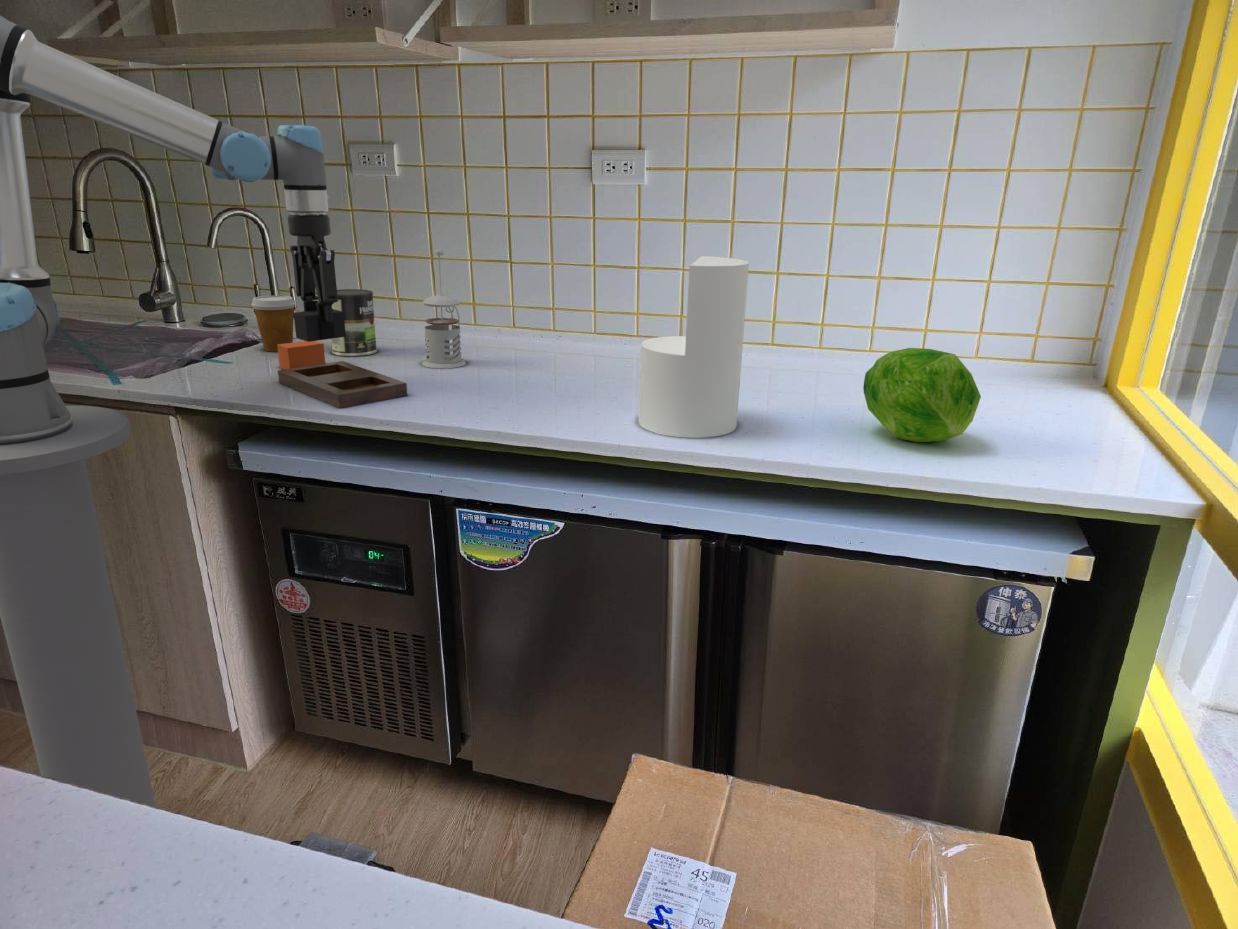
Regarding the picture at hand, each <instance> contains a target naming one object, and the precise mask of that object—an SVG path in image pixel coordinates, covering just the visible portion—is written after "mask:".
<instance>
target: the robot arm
mask: <svg viewBox="0 0 1238 929" xmlns="http://www.w3.org/2000/svg"><path fill="white" fill-rule="evenodd" d="M30 95H31V96H33V97H36V98H39V99H41V100H44V101H47V102H48V103H51V104H53V105H56V106H59V107H60V108H63V109H66V110H68V111H71V112H74V113H75V114H79V115H81V116H84V117H86V118H88V119H91V120H93V121H96V122H98V123H100V124H103V125H106V126H108V127H111V128H113V129H115V130H118V131H120V132H123V133H125V134H127V135H131V136H133V137H135V138H138V139H140V140H143V141H146V142H148V143H151V144H153V145H154V146H155V145H156V146H157V147H160V148H162V149H165V150H168V151H170V152H173V153H175V154H177V155H179V156H182V157H185V158H186V159H187V158H188V159H190V160H192V161H195V162H198V163H200V164H202V165H205V166H207V167H209V168H210V174H211V175H212V176H213V177H214V178H215V179H217V180H218V179H219V180H227V181H235V180H239V181H242V182H245V183H254V182H256V181H260V180H261V181H263V180H264V181H268V180H270V181H283V193H284V202H285V210H286V212H288V213H289V214H288V215H287V218H286V219H287V228H288V234H289V235H290V236H294V237H297V238H296V239H297V240H296V244H295V245H290V247H289V248H290V252H291V253H290V254H291V256H292V266H293V274H294V275H293V276H294V284H295V285H294V286H295V293H296V297H299V298H300V300H301V301H302V302H303V312H305V311H314V310H317V313H318V321H319V331H320V339H325V340H331V339H330V338H335V333H334V322H333V312H332V305H333V304H334V303H335V302H338V296H337V290H338V285H337V278H336V277H337V276H336V268H335V258H336V253H335V250H334V249H328V248H327V243H326V241H325V237H326V236H330V235H331V234H332V230H331V219H330V216H329V214H326V213H328V212H329V202H328V201H329V200H330V198H329V197H330V196H329V195H328V190H327V177H326V175H327V174H326V165H325V164H326V163H325V152H324V148H323V139H322V133H321V131H320V129H318V128H317V127H316V126H312V125H301V124H298V125H297V124H281V125H279V126H278V127H277V133H276V135H272V136H271V135H270V136H266V135H265V136H263V135H256V134H255V133H252V132H250V131H247V130H246V131H245V130H242V129H240V128H237V127H235V126H233V125H231V124H228V123H226V122H223V121H220V120H219V119H217V118H215V117H212V116H210V115H208V114H206V113H203V112H202V111H199V110H197V109H194V108H192V107H190V106H187V105H184V104H183V103H180V102H179V101H175V100H173V99H171V98H168V97H166V96H164V95H162V94H160V93H158V92H155V91H152V90H150V89H149V88H146V87H144V86H141V85H138V84H137V83H134V82H132V81H130V80H127V79H125V78H123V77H121V76H118V75H115V74H113V73H111V72H109V71H106V70H104V69H102V68H100V67H97V66H95V65H93V64H91V63H88V62H86V61H83V60H81V59H80V58H77V57H74V56H72V55H70V54H68V53H65V52H63V51H61V50H58V49H56V48H54V47H51V46H49V45H47V44H44V43H42V42H40V41H39V40H38V39H37V38H36V36H35V35H34V33H33V31H32V30H30V29H27V28H25V27H23V26H21V25H18V24H16V23H14V22H12V21H10V20H8V19H7V18H5V17H4V16H2V15H1V14H0V445H8V444H17V443H25V442H31V441H36V440H41V439H45V438H49V437H52V436H56V435H59V434H61V433H64V432H66V431H68V430H69V429H70V428H72V426H73V422H72V417H71V415H70V412H69V410H68V409H67V407H66V406H67V405H66V404H65V402H64V401H63V399H62V397H61V396H60V394H59V393H58V391H57V389H56V388H55V386H54V385H53V382H52V381H51V376H50V372H49V367H48V362H47V357H46V353H45V348H44V346H45V345H46V344H48V342H50V341H51V340H52V339H53V337H54V336H55V334H56V333H57V331H58V327H59V324H60V312H59V308H58V305H57V303H56V302H55V298H53V292H52V285H51V284H52V283H51V276H50V274H49V272H47V271H46V270H44V269H43V268H42V267H41V266H40V265H39V263H38V254H37V246H36V238H35V237H36V236H35V228H34V220H33V212H32V203H31V194H30V186H29V177H28V170H27V163H26V162H27V161H26V154H25V153H26V152H25V145H24V144H25V143H24V135H23V126H22V118H21V115H22V114H23V112H25V111H26V110H27V109H28V108H29V107H31V99H30V98H31V97H30Z"/></svg>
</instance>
